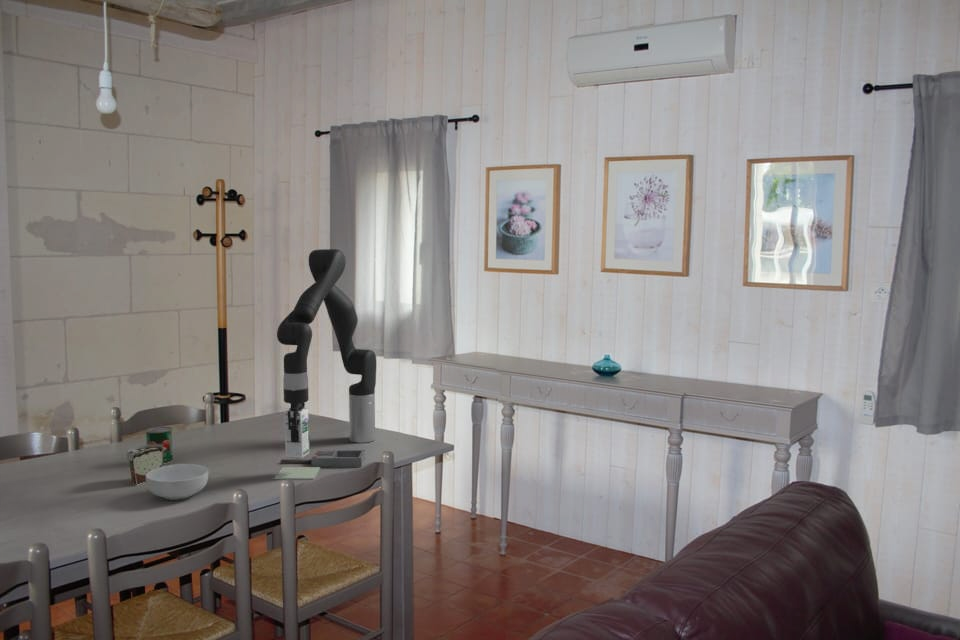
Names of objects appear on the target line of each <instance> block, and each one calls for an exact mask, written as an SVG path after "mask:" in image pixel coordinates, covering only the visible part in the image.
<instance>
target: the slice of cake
mask: <svg viewBox="0 0 960 640" xmlns="http://www.w3.org/2000/svg"><path fill="white" fill-rule="evenodd" d="M163 451H165V450H164V447H163V445H147V444H144V445H138V446H135V447H132V448H129V449H128V450H127V453H126V458H125V459H126V460H128V463H129V469H130V470H129V471H130V475H131V476H130V477H131V483H134V484H136V485H137V484H140V483H143V482H146V477H145V476H146V474H147V473H148V472H149V471H151V470H153V469H156V468H159V467H163V465H162V464H163ZM136 485H135V486H136ZM137 486H138V485H137Z"/></svg>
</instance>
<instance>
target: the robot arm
mask: <svg viewBox="0 0 960 640" xmlns="http://www.w3.org/2000/svg"><path fill="white" fill-rule="evenodd" d="M346 264H347V263H346V255H345V254H344V252H343V251H342V250H340V249H335V248H328V249H327V248H325V249H320V248H319V249H315V250H311V252H310V253H309V255H308V267H309V271H310V274H311V276H312V278H313V280H314V283H312V285H310V286H309V287H308V288H306V289H305V290H304V292H302V294H301V295H300V297H299V298H298V300H297V302H296V304H295V306H294V308H293V310H291V312H290V313H289V314H287V316H286V317H285V318H284V319H283V320H282V321H281V322H280V324H279V326H278V328H277V330H276V338H277V341H278V343H280V344H281V345H285V346H296V349H295V351H293V352H292V351H291V352H287V353H286V354H284V355H283V378H282V380H283V402H284V403H286V404H290V408H289V409H288V410H289V411H288V410H287V411H288V429H289V430H291V442H298V441H299V434H298V429H299V422H300V420H299V419H298V420H297V415H298V412H299V411H301V412H302V409H304V408H306V407H305V405H306V403H307V402H308V401H309V376H308V375H309V374H308V355H309V351H310V346H311V343H312V337H313V331H312V328H311V326H310V324H312V323H313V322H314V321H315V319H316V316H317V314H318V312H319V310H320V307H321V306H322V304H323V303H324V306H325V307H326V308H325V309H326V312H327V314H328V317H329V320H330V324H331V325H332V329H333V331H334V334H335V337H336V340H337V343H338V347H339V352H340V356H341V361H342V364H343V367H344V370H345V371H346V373H348V374H349V375H358V376H360V377H361V378H360V380H359V382H355V383H353V384H351V385H349V388H348V410H349V411H348V412H349V413H348V415H349V419H348V420H349V441H350V442H352V443H357V444H358V443H369V442H373V441H375V440H376V402H375V401H376V395H375V392H376V384H377V382H376V381H377V356H376V355H377V354H376V353H375V352H374V351H373V349H363V348H359V349H358V348H356V347H355V345H354V343H353V342H354V341H353V336H354V334H355V331H356V329H357V326H358V314H357V312H356V309H355V306H354V303H353V301H352V300H351V299H350V297H349V296H347V294H345V293H344V292H343V291H342V290H341V289H340V288H339V287H338V286H337V285H336V283H337V282H339V281H338V280H340V278H341V277H342V275H343V273H344V271H345V269H346ZM293 423H295V426H292V424H293Z"/></svg>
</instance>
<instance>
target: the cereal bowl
mask: <svg viewBox="0 0 960 640" xmlns="http://www.w3.org/2000/svg"><path fill="white" fill-rule="evenodd" d="M209 473H210V472H209V469H208V467H206V466H204V465H201V464H196V463H195V464H193V463H175V464H167V465H162V467H159V468H156V469H153V470H151V471H149V472H148V473H147V474H146V476H145V477H146V483H145V484H146V487H147V489H148V491H149V492H150V493H151V494H153V495H154V496H157V497H161V498H164V499H165V500H168V499H169V500H171V501H174V500H175V501H176V500H177V501H178V500H184V499H188V498H190V497H192V496H193V495H194V494H197V493H199V492H200V491H202V490H203V489H204V488H205V486H206V485H207V483H208V480H209ZM169 500H168V501H169Z"/></svg>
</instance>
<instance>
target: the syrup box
mask: <svg viewBox="0 0 960 640" xmlns="http://www.w3.org/2000/svg"><path fill="white" fill-rule="evenodd" d="M288 411H289V409H288V410H286V411H284V412H283V416H284V417H283V419H284V421H283V423H284V424H283V425H284V444H285V445H284V447H285V448H284V449H285V457H286V458H293V459H295V458H296V459H297V458H298V459H302V458H303V459H304V457H305V456H307V455H309V454H311V448H310V447H311V446H310V425H309V424H310V423H309V408H306V407H305V408H304V409H302V412H301V411H299V412H298V415H297V420H298V419H299V420H300V422H299V429H298V434H299V441H298V442H291V430H289V429H288ZM292 426H295V423H293V424H292Z"/></svg>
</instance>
